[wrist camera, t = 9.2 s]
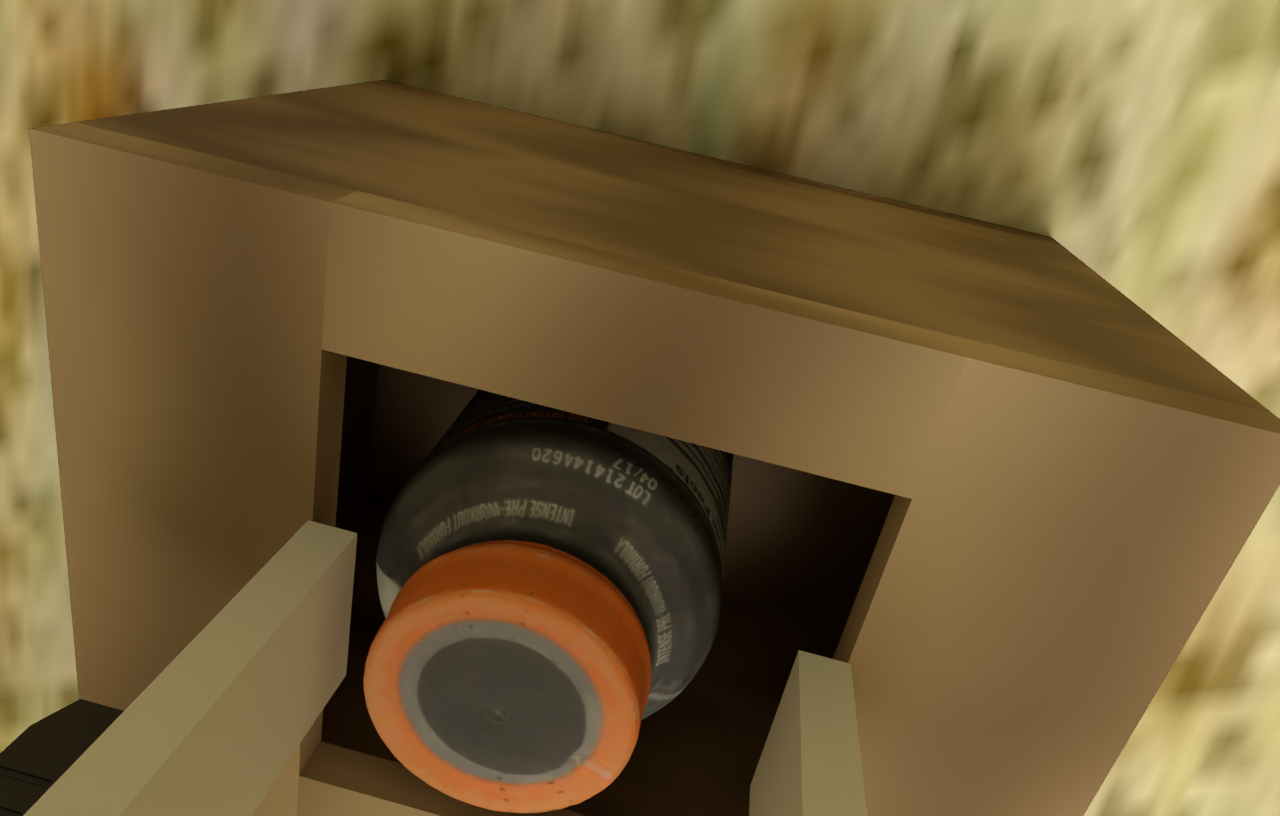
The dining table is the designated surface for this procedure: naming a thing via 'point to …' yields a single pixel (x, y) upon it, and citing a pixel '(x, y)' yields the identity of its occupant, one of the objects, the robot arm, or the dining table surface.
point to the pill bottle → (542, 600)
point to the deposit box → (637, 427)
